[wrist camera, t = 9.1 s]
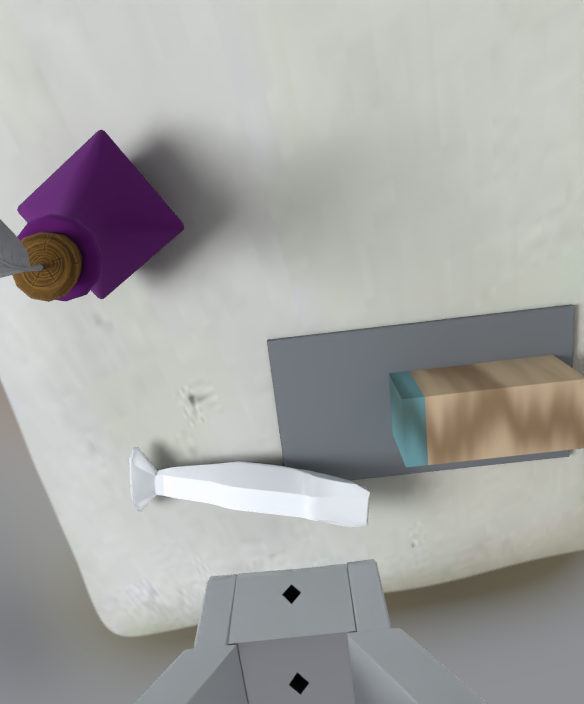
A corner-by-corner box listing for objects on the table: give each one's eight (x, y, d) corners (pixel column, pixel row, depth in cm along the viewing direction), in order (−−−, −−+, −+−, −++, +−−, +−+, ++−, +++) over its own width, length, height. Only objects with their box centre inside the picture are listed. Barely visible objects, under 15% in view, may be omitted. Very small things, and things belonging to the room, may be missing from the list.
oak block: (401, 399, 36) (587, 378, 36) (388, 373, 41) (552, 354, 41) (406, 467, 38) (584, 448, 37) (392, 434, 42) (551, 417, 42)
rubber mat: (267, 339, 41) (267, 341, 40) (571, 304, 40) (574, 305, 40) (287, 484, 44) (287, 487, 44) (566, 453, 43) (569, 456, 43)
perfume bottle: (194, 223, 38) (117, 261, 21) (115, 291, 39) (-18, 379, 22) (117, 131, 36) (-37, 91, 19) (37, 206, 38) (-173, 231, 20)
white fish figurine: (365, 514, 44) (366, 546, 40) (142, 495, 45) (123, 525, 42) (370, 451, 42) (372, 479, 38) (138, 435, 44) (118, 459, 40)
